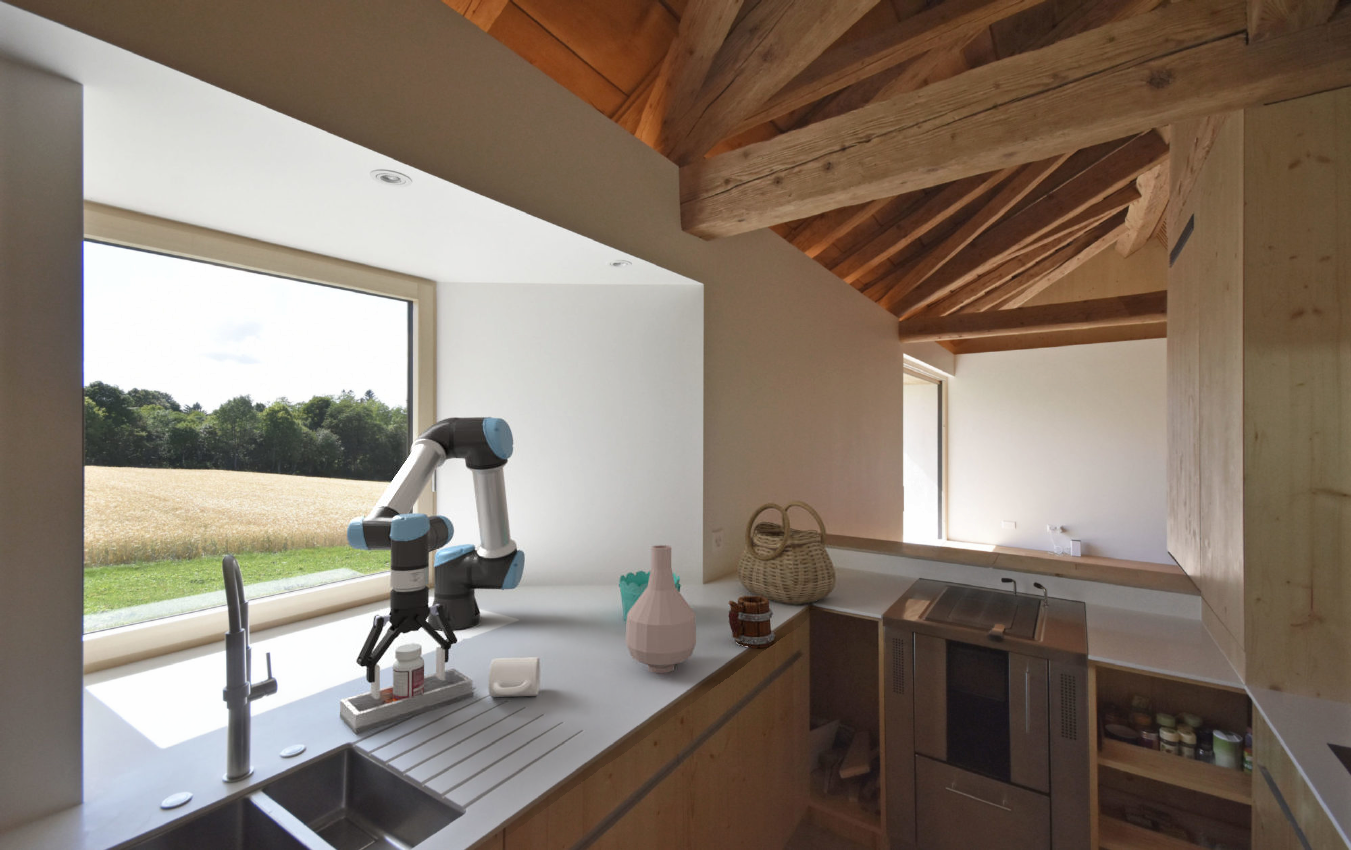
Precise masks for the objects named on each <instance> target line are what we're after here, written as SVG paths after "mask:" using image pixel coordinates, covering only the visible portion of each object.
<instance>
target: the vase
mask: <svg viewBox="0 0 1351 850" xmlns="http://www.w3.org/2000/svg"><path fill="white" fill-rule="evenodd" d="M650 550H651V558H650V560H651V561H650V562H651V566H650V567H651V568H650V571H651V572H650V577H649V582H648V587H647V588H646V589H645V591H644V592H643V593H642V595H641V596H640V597H639V599H638V600H637V601H636V603H635V604H634V605H633V607H632V608H631V609H630V611H629V612H628V614H627V621H626V626H625V627H626V628H625V629H626V632H625V644H626V646H627V649H628V652H629V655H630V656H631V657H632V659H633V660H635V661H636V662H637V661H638V662H639V663H642V664H644V665H647V669H648V671H649V672H651V673H655V674H667V673H670V672H669V671H671V672H672V671H674V670H673V669H675V666H676V665H677V664H680V663H682V662H684V661H687V660H688V659H690V657H691V656H692V655H693V652H694V649H695V647H696V645H697V633H696V631H697V627H696V625H697V624H696V613H695V611H694V610H693V608H691V606H690V604H689V603H688V602H687V601H686V599H685V598H684V596H683V595H682V594H681V592H679V591H678V590H677V589H676V587H675V583H674V578H673V573H674V572H673V569H672V546H671V545H667V544H666V545H665V544H658V545H657V544H656V545H652V546H651V549H650Z"/></svg>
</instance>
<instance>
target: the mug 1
mask: <svg viewBox="0 0 1351 850" xmlns="http://www.w3.org/2000/svg"><path fill="white" fill-rule="evenodd" d="M540 661H541V660H540V657H538V656H532V657H531V656H530V657H524V656H523V657H500V658H497V657H496V658H493V659H492V661H491V663H490V667H489V674H488V693H489V696H490V697H491V698H505V697H506V698H507V697H533V696H538V693H539V689H540V681H541V662H540Z"/></svg>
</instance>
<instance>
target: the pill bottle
mask: <svg viewBox="0 0 1351 850" xmlns="http://www.w3.org/2000/svg"><path fill="white" fill-rule="evenodd" d="M394 650H395V655H394V657H395V659H396V660H394V662H393V665H392V685H393V702H395V701H398V700H402V699H405V698H408V697H412V696H415V695H418V694H422V693H424V676H425V659H424V658H423V657H422V655H423V653H422V652H423V651H422V645H421V644H419V643H407V644H401V645H400V646H397V647H396V648H395V649H394Z"/></svg>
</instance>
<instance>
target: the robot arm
mask: <svg viewBox="0 0 1351 850" xmlns="http://www.w3.org/2000/svg"><path fill="white" fill-rule="evenodd" d="M513 453H514V438H513V433H512V429H511V427H510V425H509V424H508V422H507V421H506V420H505V419H504V418H500V417H491V416H487V417H484V416H481V417H448V418H444V419H441V420H438V422H435V423H433V424H432V425H431V426H429V427H427V428H425V430H424V431H422V432H421V433H420V434H419V435H418V437H417V438H416V439H415V440H414V442H412V445H411V447H410V454H409V456H408V458H407V459H406V461H405V462H404V463H403V465H402V466H401V468H400V469H399V471H398V472H397V474H396V475H395V476H394V478H393V480H392V481H391V483H390V484H389V485H388V487H387V488H386V489H385V491H384V493H383V494H382V496H381V497H380V499H379V500H378V501H377V502H376V504H375V506H374V507H373V508H372V510H371V512H370V513H369V515H368V516H365V515H362V516H357V517H354V518H353V519H352V520H351V521H350V522H349V524H348V526H347V529H346V530H347V531H346V539H347V540H346V541H347V542H348V544H349V547H351V548H352V549H354V550H362V551H368V552H369V551H390V582H389V583H390V587H391V588H392V589H391V590H390V592H389V594H390V597H389V600H390V601H389V604H390V605H389V607H390V608H389V609H390V610H389V614H387V615H380V614H376V615H374V616H373V622H372V627H371V629H370V631H369V633H368V635H367V637H366V640H365V641H364V644H363V646H362V648H361V650H360V652H359V654H358V657H357V658H356V661H355V662H356V664H357V665H359V666H361V667H363V668H364V667H365V668H366V674H365V675H366V681H367V682H368V683H369V684H370V692H371V696H372V697H374V698H375V699H379V698H380V689H381V688H380V687H381V686H380V685H381V684H380V683H381V677H380V676H381V673H380V672H381V666H380V665H379V664H378V663H379V662H380V660H381V659H382V657H383V656H384V655H385V654H386V652H387V650H388V649H389V648H390V646H392V643H393V642H394V641H395V639H396V638H398V637H399V636H400V635H401V634H403V635H404V634H408V633H410V632H417V631H419V630H420V629H422V630H424V632H426V633H427V634H428V635H429V636H430V637H431V638H432V639H433V640H434V641H435V642H436V643H437V644H438V645H439V646H438V647H436V648H435V650H436V653H435V656H436V657H435V661H436V663H435V673H436V677H437V678H438V679H440V680H445V671H446V667H445V666H446V663H448V662H449V656H450V655H449V653H450V652H449V650H450V649H451V647H452V645H453V644H454V645H455V644H457V643H458V637H456V634H455V633H454V631H455V630H463V629H467V628H470V627H474V626H476V625H478V623H480V622H481V612H480V607H479V605H478V602H477V599H476V594H475V593H476V592H475V590H501V591H504V590H514V589H516V588H517V587H518V586H519V584H520V583H521V580H522V577H523V574H524V569H525V560H526V558H525V552H524V551H523V550H521V549H518V547H517V543H516V541H515V540H513V539H511V531H510V521H509V512H508V501H507V491H506V484H505V483H506V481H505V473H504V467H506V465H507V464H508V462H509V461H508V459H510V458H511V456H512V455H513ZM451 459H464V460H465V467H466V469H468V470H470V471H471V472H472V473H471V474H472V481H473V490H474V498H475V504H476V506H475V507H476V512H477V521H478V529H479V538H480V544H479V545H478V546H477V548H476V546H475V544H473V543H472V544H471V543H467V544H466V543H465V544H459V545H453V546H449V547H445V548H443V547H444V546H446V545H448V544H449V543H450V542H451V540H452V539H453V537H454V533H455V529H454V525H453V522H452V521H451V520H450V518H448V517H447V516H444V515H441V514H440V515H430V516H428V514H425V513H416V512H415V513H410V512H411V511H412V509H413V507H414V506H415V504H416V502H417V501H418V499H419V498H420V495H421V494H422V493H423V491H424V490H425V488H426V486H427V485H428V483H429V481H430V480H431V478H432V476H433V475H434V473H435V471H436V469H437V468H440V467H441V466H443V465H444V463H445V462H446V461H447V460H451ZM436 550H438V551H437V552H435V554H434V564H433V570H434V571H433V572H434V573H433V578H434V579H433V580H434V581H433V583H434V584H433V585H434V586H433V588H434V589H433V591H434V596H433V601H432V603H431V606H429V600H430V599H429V597H430V595H429V594H430V593H429V591H430V589H429V587H428V586H427V585H429V583H430V581H429V579H430V575H429V574H430V573H429V572H430V571H429V569H430V564H429V563H430V562H429V561H430V552H434V551H436ZM388 622H389V623H390V624H391V625H390V626H389V628H388V629H387V630H386V633H385V635H384V636H383V637H382V639H381V640H380V641H379V642H378V640H379V638H380V637H381V634H382V632H383V629H384V627H385V626H387V623H388ZM438 631H442V632H443V634H444V636H445V638H446V639H445V638H444V637H443V636H442V635H441V634H440V633H439V632H438ZM377 642H378V644H377ZM376 644H377V645H376Z"/></svg>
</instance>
